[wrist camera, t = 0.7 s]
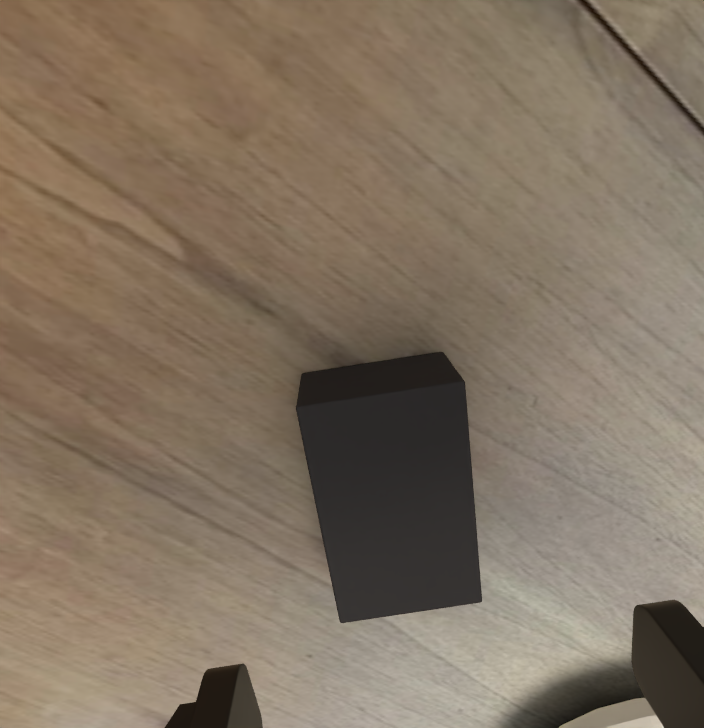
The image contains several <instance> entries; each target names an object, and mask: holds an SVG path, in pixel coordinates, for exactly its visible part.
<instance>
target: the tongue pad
mask: <svg viewBox="0 0 704 728" xmlns="http://www.w3.org/2000/svg"><path fill="white" fill-rule="evenodd" d="M296 411H297V416H298V421H299V426H300V430H301V435H302V440H303V445H304V450H305V455H306V460H307V464H308V469H309V474H310V479H311V484H312V489H313V494H314V499H315V503H316V508H317V513H318V518H319V523H320V528H321V533H322V537H323V542H324V547H325V552H326V557H327V562H328V567H329V572H330V576H331V581H332V586H333V591H334V596H335V601H336V606H337V610H338V615H339V620H340V622H341V623H346V622H352V621H359V620H366V619H372V618H379V617H386V616H392V615H399V614H406V613H413V612H419V611H426V610H433V609H439V608H446V607H453V606H459V605H466V604H473V603H479V602H482V594H481V581H480V569H479V556H478V543H477V530H476V517H475V505H474V492H473V479H472V466H471V454H470V441H469V428H468V415H467V403H466V390H465V382H464V380H463V379H462V377H461V376H460V375H459V373H458V372H457V370H456V369H455V368H454V366H453V365H452V364H451V362H450V361H449V360H448V358H447V357H446V355H445V354H444V353H443V352H439V353H432V354H426V355H419V356H413V357H406V358H400V359H393V360H387V361H381V362H374V363H368V364H361V365H355V366H348V367H342V368H335V369H329V370H322V371H316V372H310V373H303V374H302V376H301V382H300V388H299V394H298V399H297V405H296Z"/></svg>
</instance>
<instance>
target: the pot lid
mask: <svg viewBox="0 0 704 728" xmlns="http://www.w3.org/2000/svg"><path fill="white" fill-rule="evenodd" d="M559 728H664V727H663V725H662V723H661V722H660V720H659V719H658V717H657V716H656V714H655V712H654V711H653V709H652V708H651V706H650V704H649V703H648V701H647V700H646V698H637V699H632V700H628V701H624V702H621V703H617V704H613V705H609V706H605V707H601V708H598V709H595V710H593V711H591V712H589V713H587V714H584V715H582V716H580V717H578V718H576V719H574V720H572V721H569V722H567V723H565V724H563V725H561V726H560V727H559Z"/></svg>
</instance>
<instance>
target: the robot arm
mask: <svg viewBox="0 0 704 728" xmlns="http://www.w3.org/2000/svg"><path fill="white" fill-rule="evenodd" d="M632 667H633V671H634V674H635V677H636V680H637V683H638V685H639V687H640V689H641V691H642V693H643V695H644V696H645V698H646V700H647V701H648V703H649V704H650V706H651V708H652V709H653V711H654V712H655V714H656V716H657V717H658V719H659V720H660V722H661V723H662V725H663V727H664V728H704V627H702V626H701V624H700V623H699V622H698V621H697V620H696V619H695V618H694V616H693V615H692V614H691V613H690V612H689V611H688V610H687V608H686V607H685V606H684V605H683V604H681V603H680V602H678V601H676V600H668V601H662V602H655V603H649V604H642V605H637V606H636V607H635V608H634V615H633V636H632ZM165 728H263V727H262V718H261V713H260V710H259V706H258V703H257V700H256V697H255V693H254V690H253V687H252V683H251V680H250V677H249V674H248V670H247V668H246V666H245V664H238V665H231V666H224V667H218V668H211V669H207V670H206V672H205V673H204V676H203V679H202V682H201V686H200V689H199V693H198V697H197V700H196V702H194V703H187V704H180V705H179V707H178V708H177V710H176V711H175V713H174V714H173V716H172V717H171V719H170V721H169V722H168V724H167V725H166V727H165Z"/></svg>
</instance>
